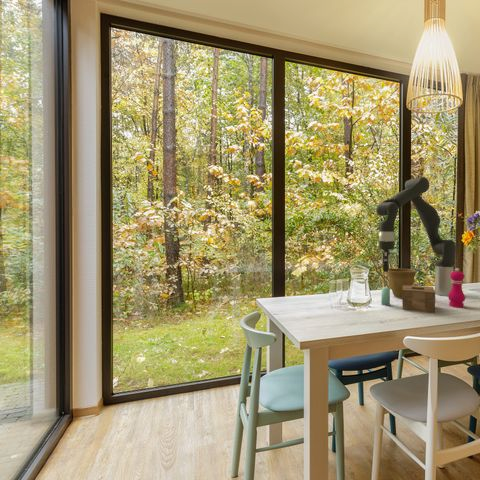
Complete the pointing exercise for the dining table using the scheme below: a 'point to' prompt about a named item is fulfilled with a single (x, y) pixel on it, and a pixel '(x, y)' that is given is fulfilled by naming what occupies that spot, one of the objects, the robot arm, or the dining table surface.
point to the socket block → (418, 298)
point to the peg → (385, 296)
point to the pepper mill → (456, 289)
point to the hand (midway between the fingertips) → (386, 270)
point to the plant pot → (400, 280)
